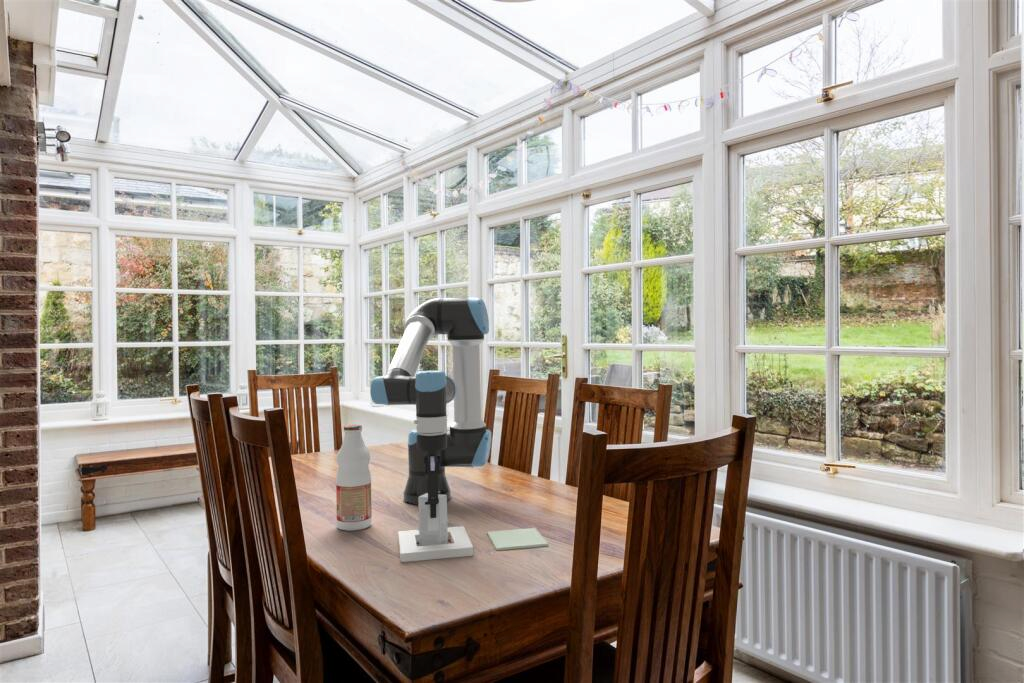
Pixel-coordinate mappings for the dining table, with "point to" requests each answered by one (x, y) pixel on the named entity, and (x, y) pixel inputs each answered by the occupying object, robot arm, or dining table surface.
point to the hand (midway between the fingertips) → (433, 525)
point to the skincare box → (424, 534)
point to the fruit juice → (353, 482)
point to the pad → (516, 539)
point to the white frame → (434, 546)
